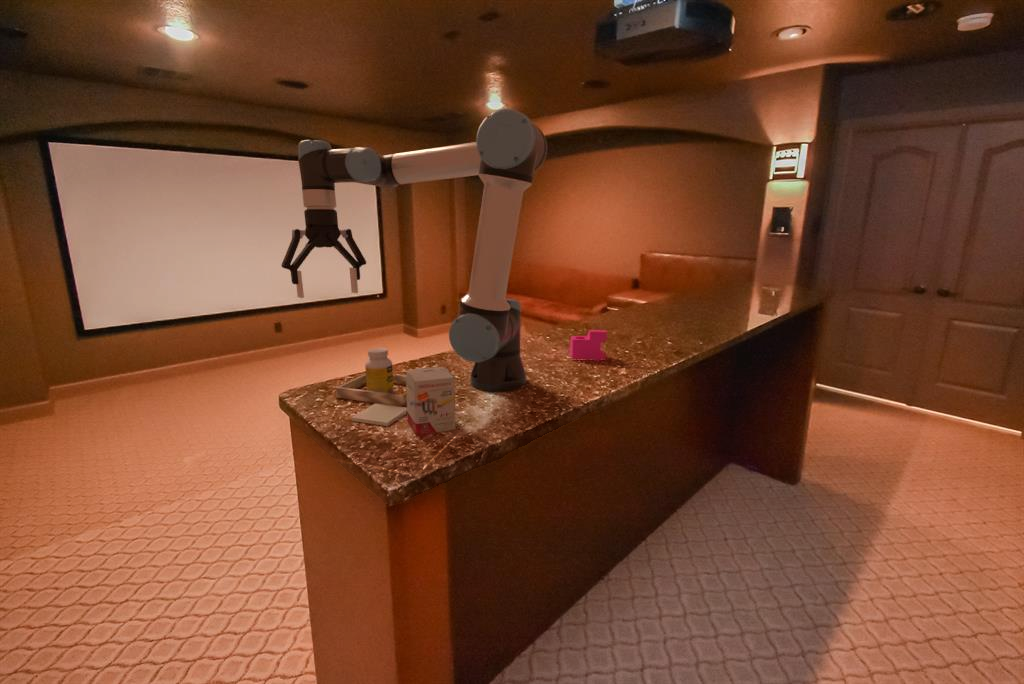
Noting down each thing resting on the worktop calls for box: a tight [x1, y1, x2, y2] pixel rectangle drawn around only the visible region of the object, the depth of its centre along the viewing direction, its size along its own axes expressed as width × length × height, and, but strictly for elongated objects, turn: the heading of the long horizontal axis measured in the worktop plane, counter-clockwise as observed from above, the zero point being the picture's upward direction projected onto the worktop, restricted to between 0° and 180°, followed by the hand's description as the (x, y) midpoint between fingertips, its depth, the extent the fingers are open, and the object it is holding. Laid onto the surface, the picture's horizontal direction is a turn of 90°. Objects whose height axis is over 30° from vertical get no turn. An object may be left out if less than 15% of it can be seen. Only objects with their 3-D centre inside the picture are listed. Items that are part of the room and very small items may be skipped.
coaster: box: [350, 403, 407, 427], centre depth 106 cm, size 9×9×1 cm
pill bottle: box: [364, 347, 395, 394], centre depth 118 cm, size 6×6×12 cm
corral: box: [334, 373, 407, 407], centre depth 121 cm, size 19×15×2 cm
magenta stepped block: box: [568, 329, 608, 360], centre depth 154 cm, size 12×10×10 cm
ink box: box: [405, 366, 456, 436], centre depth 100 cm, size 9×9×12 cm
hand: (328, 295), depth 122 cm, fingers open, 13 cm apart
